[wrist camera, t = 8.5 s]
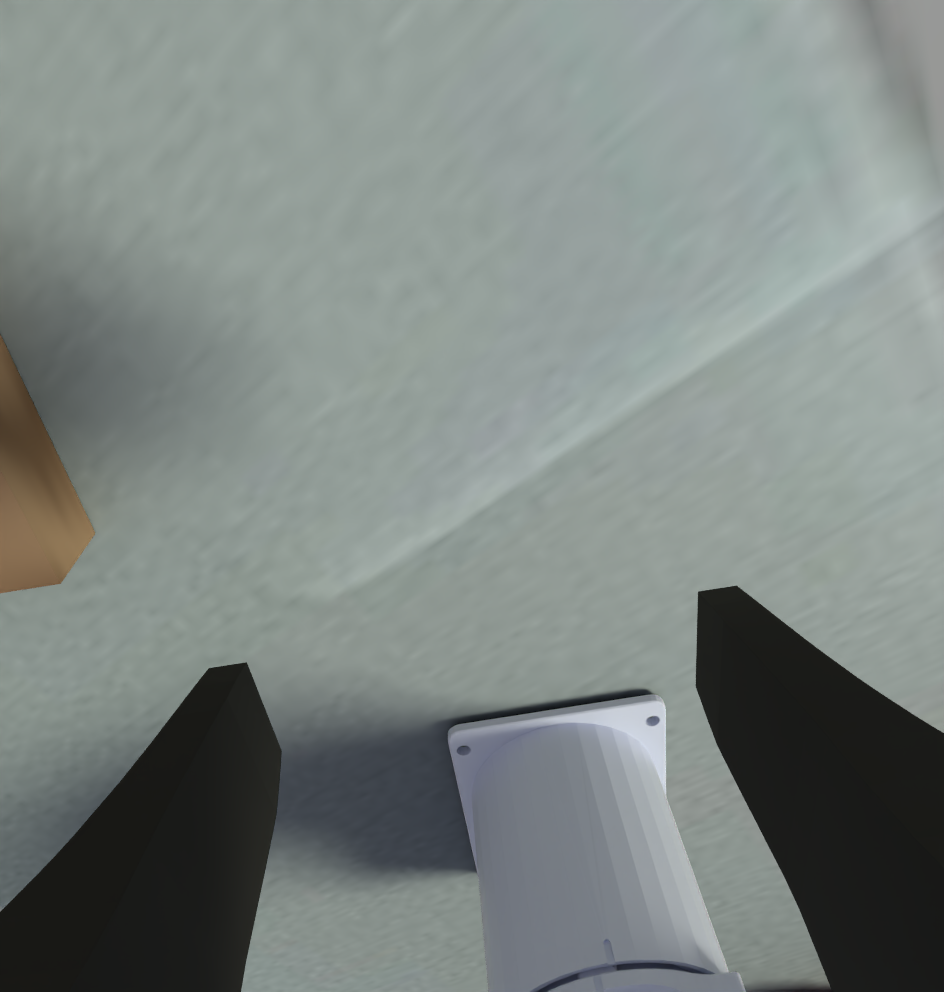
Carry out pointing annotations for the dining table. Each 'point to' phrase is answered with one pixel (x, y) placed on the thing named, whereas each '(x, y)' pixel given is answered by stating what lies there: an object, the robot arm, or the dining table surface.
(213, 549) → the dining table surface
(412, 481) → the dining table surface
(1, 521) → the walnut block
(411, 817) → the dining table surface
